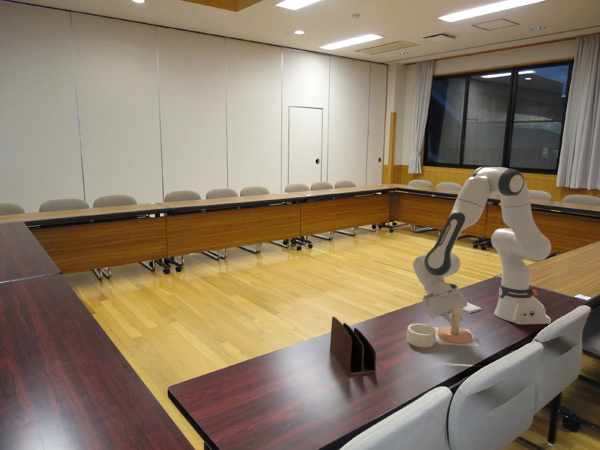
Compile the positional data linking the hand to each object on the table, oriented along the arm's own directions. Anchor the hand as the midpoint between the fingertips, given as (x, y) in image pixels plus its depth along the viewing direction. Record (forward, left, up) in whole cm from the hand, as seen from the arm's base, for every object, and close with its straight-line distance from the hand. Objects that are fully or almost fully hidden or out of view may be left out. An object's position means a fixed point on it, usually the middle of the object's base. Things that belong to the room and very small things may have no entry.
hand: (456, 322), depth 166 cm
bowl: (+14, +6, -7) cm, 17 cm away
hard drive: (-12, -35, -7) cm, 37 cm away
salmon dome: (0, 0, -6) cm, 6 cm away
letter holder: (+41, +23, -7) cm, 47 cm away
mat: (0, 0, -7) cm, 7 cm away
